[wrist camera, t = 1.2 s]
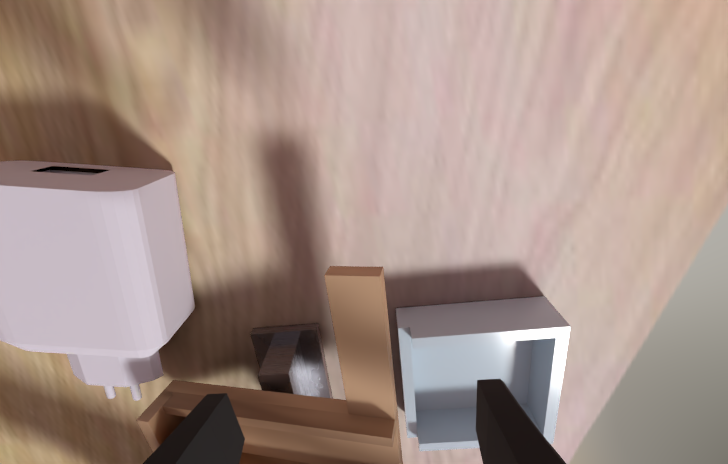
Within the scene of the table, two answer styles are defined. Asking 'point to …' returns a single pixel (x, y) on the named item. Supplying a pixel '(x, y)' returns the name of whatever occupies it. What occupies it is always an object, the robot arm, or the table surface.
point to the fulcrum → (292, 360)
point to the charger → (93, 268)
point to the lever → (308, 413)
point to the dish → (479, 365)
